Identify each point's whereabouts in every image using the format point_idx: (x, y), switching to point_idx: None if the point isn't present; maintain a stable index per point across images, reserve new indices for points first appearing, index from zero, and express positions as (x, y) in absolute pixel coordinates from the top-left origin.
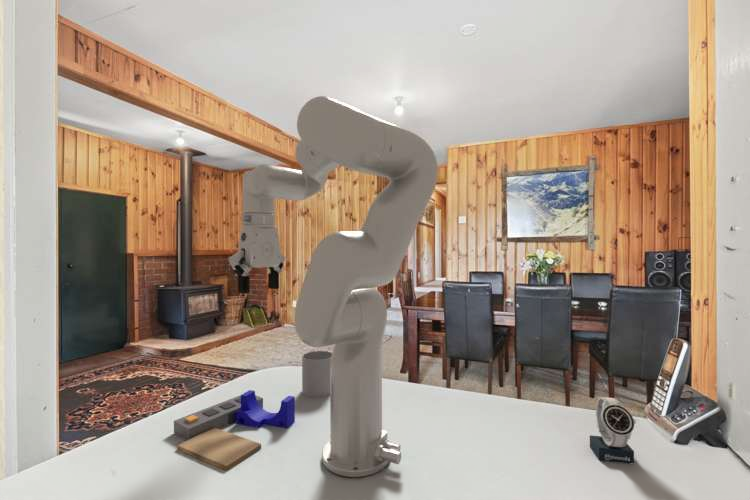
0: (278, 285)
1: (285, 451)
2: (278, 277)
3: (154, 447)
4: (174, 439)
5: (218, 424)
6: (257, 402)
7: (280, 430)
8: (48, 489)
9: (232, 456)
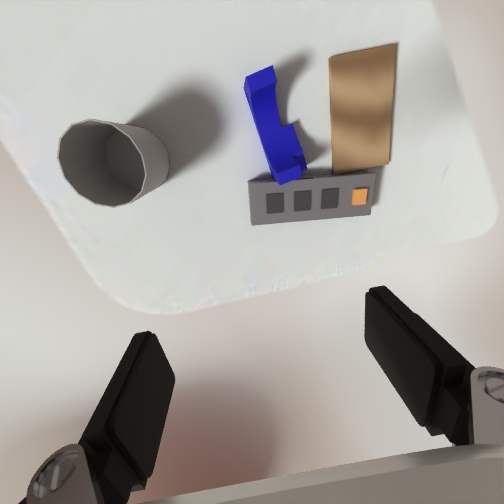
0: (132, 345)
1: (314, 9)
2: (105, 397)
3: (393, 192)
4: None
5: (327, 175)
6: (272, 165)
7: None
8: (486, 190)
9: (375, 62)
